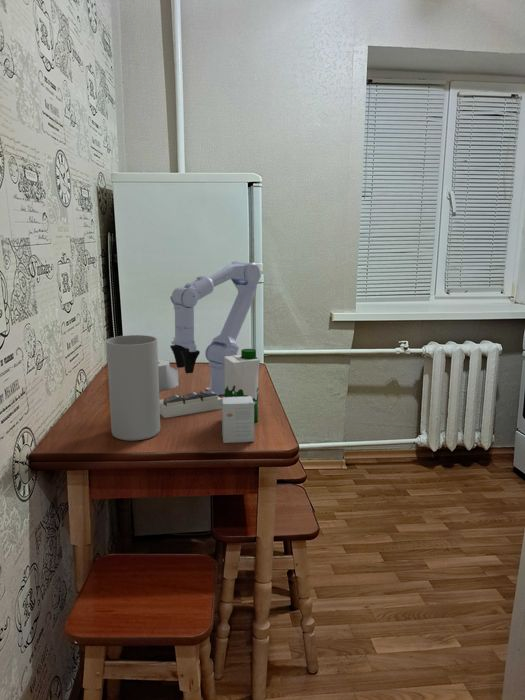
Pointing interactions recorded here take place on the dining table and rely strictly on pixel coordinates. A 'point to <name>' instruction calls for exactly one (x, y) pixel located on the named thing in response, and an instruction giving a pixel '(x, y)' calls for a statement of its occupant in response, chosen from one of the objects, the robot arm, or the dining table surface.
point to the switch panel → (189, 406)
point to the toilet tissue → (167, 375)
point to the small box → (237, 419)
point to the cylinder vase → (133, 386)
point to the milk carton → (242, 376)
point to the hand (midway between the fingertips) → (184, 370)
